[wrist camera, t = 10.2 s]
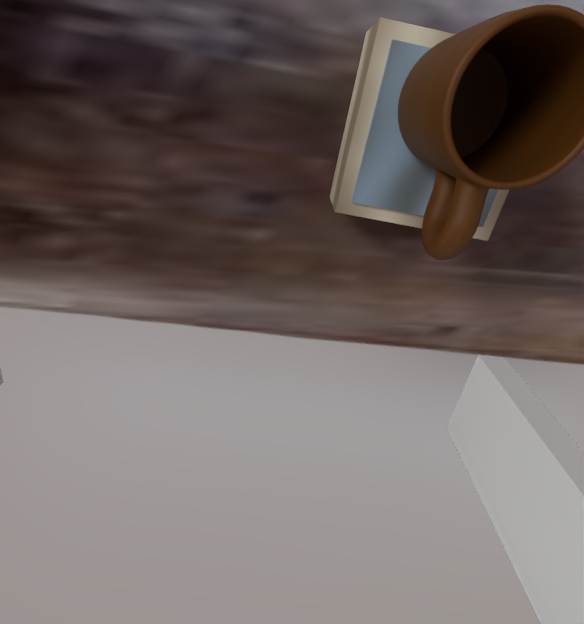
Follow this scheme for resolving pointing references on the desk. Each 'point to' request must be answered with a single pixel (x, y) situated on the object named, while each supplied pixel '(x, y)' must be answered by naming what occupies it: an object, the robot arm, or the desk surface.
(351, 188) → the plinth
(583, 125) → the mug
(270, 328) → the desk surface
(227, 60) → the desk surface
